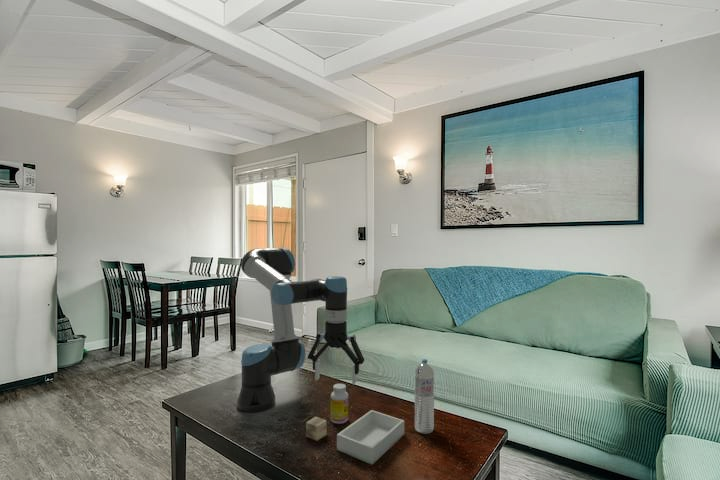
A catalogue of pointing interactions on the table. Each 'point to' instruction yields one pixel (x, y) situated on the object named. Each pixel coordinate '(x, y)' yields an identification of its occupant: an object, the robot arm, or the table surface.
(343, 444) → the tote
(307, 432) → the maple cube
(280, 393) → the table surface
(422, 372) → the water bottle
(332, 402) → the supplement bottle
